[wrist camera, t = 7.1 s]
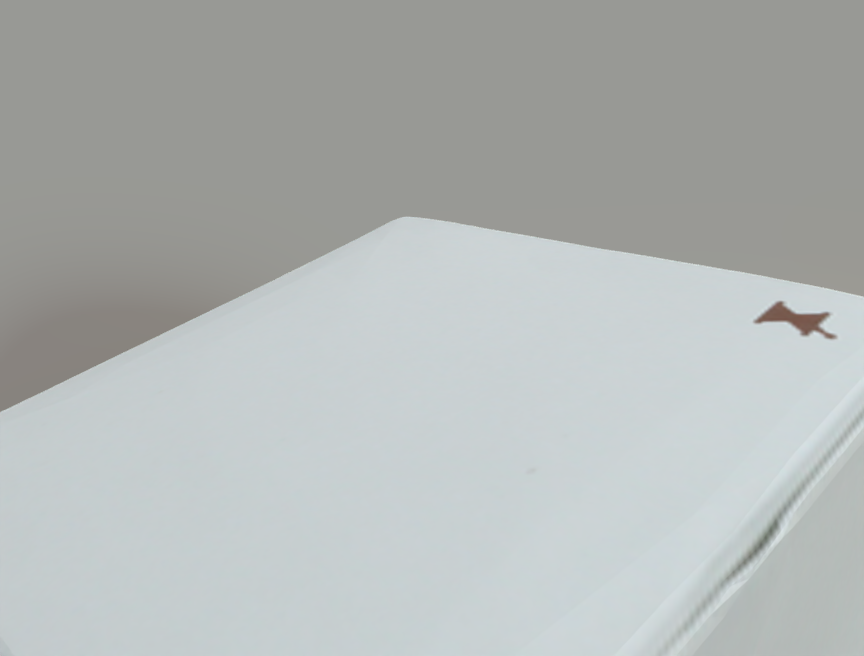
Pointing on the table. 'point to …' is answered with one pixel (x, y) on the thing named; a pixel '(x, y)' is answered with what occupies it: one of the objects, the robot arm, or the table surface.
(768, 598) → the supplement box
